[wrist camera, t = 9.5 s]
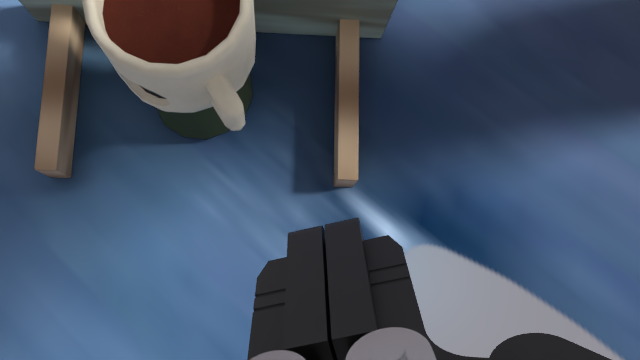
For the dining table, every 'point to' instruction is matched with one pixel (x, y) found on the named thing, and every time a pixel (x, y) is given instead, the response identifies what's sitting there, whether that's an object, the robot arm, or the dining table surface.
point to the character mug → (182, 58)
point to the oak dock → (270, 17)
